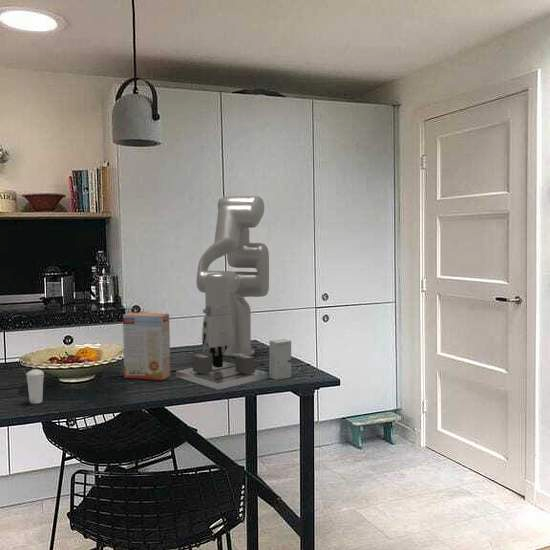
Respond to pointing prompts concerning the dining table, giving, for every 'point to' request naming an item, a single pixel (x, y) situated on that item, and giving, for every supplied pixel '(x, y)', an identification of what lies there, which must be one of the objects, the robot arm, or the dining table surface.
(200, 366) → the fader
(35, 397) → the milkshake
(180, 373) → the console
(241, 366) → the fader
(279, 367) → the skincare box
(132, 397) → the dining table surface
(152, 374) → the cracker box
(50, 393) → the dining table surface
